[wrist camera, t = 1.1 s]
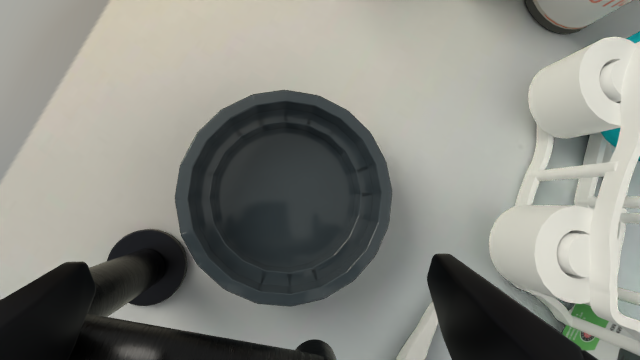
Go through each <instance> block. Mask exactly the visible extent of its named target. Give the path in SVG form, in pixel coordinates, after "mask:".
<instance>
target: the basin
mask: <svg viewBox="0 0 640 360" xmlns="http://www.w3.org/2000/svg"><path fill="white" fill-rule="evenodd" d="M175 199H176V200H175V204H176V209H177V215H178V221H179V227H180V233H181V236H182V238H183V240H184V241H185V243H186V245H187V247H188V249H189V251H190V252H191V254H192V256H193V258H194V260H195V262H196V263H197V265H198V266H199V267H200V268H201V269H202V270H203V271H204V272H205V273H207V274H208V275H209V276H210V277H211V278H212V279H213V280H214V281H215V282H216V283H218V284H219V285H220V286H221V287H222V288H223V289H225V290H227V291H229V292H231V293H233V294H236V295H238V296H240V297H243V298H245V299H247V300H250V301H252V302H254V303H257V304H267V305H278V306H296V305H300V304H304V303H308V302H313V301H317V300H321V299H324V298H326V297H328V296H330V295H331V294H333V293H335V292H336V291H338V290H340V289H341V288H343V287H344V286H346V285H348V284H349V283H351V282H353V280H355V279H356V278H357V277H358V275H359V274H360V273H361V272H362V271H363V270H364V269H365V267H366V266H367V265H368V264H369V263H370V262H371V261H372V259H373V258H374V257H375V255H376V254H377V251H378V249H379V247H380V244H381V242H382V240H383V238H384V235H385V233H386V231H387V228H388V225H389V219H390V210H391V200H392V188H391V183H390V178H389V173H388V168H387V163H386V161H385V158H384V157H383V155H382V153H381V151H380V149H379V147H378V145H377V144H376V142H375V140H374V138H373V136H372V134H371V133H370V131H369V130H368V129H366V128H365V127H364V126H363V125H362V124H361V123H360V122H359V121H358V120H357V119H356V118H355V117H354V116H353V115H352V114H351V113H350V112H349V111H348V110H346V109H344V108H342V107H340V106H338V105H336V104H334V103H333V102H331V101H329V100H327V99H325V98H323V97H321V96H318V95H313V94H307V93H301V92H295V91H289V90H280V91H273V92H266V93H259V94H253V95H250V96H248V97H246V98H244V99H242V100H240V101H238V102H236V103H234V104H232V105H230V106H228V107H226V108H224V109H222V110H220V111H219V112H218V113H217V114H216V115H215V116H214V117H213V118H212V119H211V120H210V121H209V122H208V123H207V124H206V125H205V126H204V127H203V128H202V129H201V130H200V131H198V132H197V134H196V136H195V138H194V140H193V141H192V143H191V145H190V147H189V149H188V151H187V153H186V155H185V157H184V159H183V160H182V162H181V165H180V169H179V175H178V181H177V187H176V193H175Z"/></svg>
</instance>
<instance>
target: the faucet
mask: <svg viewBox="0 0 640 360" xmlns="http://www.w3.org/2000/svg"><path fill="white" fill-rule="evenodd" d="M89 270H90V272H91V275H92V277H93V280H94V282H95V285H96V292H95V296H94V298H93V301H92V303H91V306H90V308H89V311H88V313H87V316H86V318H85V321H84V323H83V326H82V328H81V331H80V333H79V336H78V338H77V341H76V344H75V346H74V348H73V351H72V353H71V355H70V357H69V359H68V360H336V357H335V355H334V352H333V350H332V348H331V347H330V346H329V345H328V344H327V343H325V342H323V341H321V340H308V341H306V342H304V343H302V344H301V345H299V346H298V347H297V349H296V350H290V349H284V348H278V347H273V346H267V345H262V344H256V343H250V342H245V341H239V340H233V339H228V338H222V337H216V336H211V335H205V334H199V333H194V332H188V331H182V330H177V329H171V328H165V327H160V326H154V325H148V324H143V323H137V322H132V321H126V320H120V319H115V318H109V317H108V316H109V315H111V314H112V313H114V312H115V311H117V310H118V309H119V308H121V307H122V306H124V305H125V304H127V303H128V302H130V301H131V300H133V299H134V298H136V297H137V296H138V295H140V294H141V293H143V292H144V291H146V290H147V289H149V288H150V287H152V286H153V285H155V284H156V283H157V282H158V281H159V280H160V279H161V278H162V276H163V274H164V270H165V264H164V261H163V258H162V257H161V256H160V255H159V254H158V253H157V252H155V251H153V250H150V249H142V250H138V251H135V252H132V253H130V254H127V255H124V256H121V257H118V258H116V259H113V260H110V261H107V262H104V263H102V264H99V265H96V266H93V267H90V268H89ZM1 300H2V299H1Z"/></svg>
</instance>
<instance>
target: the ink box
mask: <svg viewBox="0 0 640 360" xmlns="http://www.w3.org/2000/svg"><path fill="white" fill-rule="evenodd" d="M571 315H572V316H575V317H577V318H580V319H582V320H585V321H588V322H590V323H593V324H595V325H598V326H600V327H603V328H606V329H608V330H611V331H613V332H616V333H619V334H621V335H624V336H626V337H629V338H632V339H634V340H636V339H635V338H634V337H633V336H631V335H630V334H629V333H628V332H626V331H625V330H624V329H623V328H621V327H620V326H619V325H617V324H616V323H613V322H610V321H607V320H605V319H602V318H600V317H598V316H597V315H596V314H595V313H594V312H593V310H592V308H591V306H589V305H586V304H575V306H574V309H573V311H572V313H571ZM562 334H563V335H564V336H566V337H567V338H569V339H570V340H571V341H573V342H574V343H576V344H577V345H578V346H580V347H581V350H586V351H587V352H588V353H590V354H591V355H593V356H594V357H595V358H597V359H598V360H640V356H639V355H636V354H634V353H632V352H629V351H627V350H625V349H622V348H620V347H618V346H615V345H613V344H611V343H608V342H606V341H604V340H601V339H599V338H596V337H594V336H592V335H589V334H587V333H584V332H582V331H580V330H577V329H575V328H573V327H570V326H568V325H566V326H565V328H564V330H563V333H562Z"/></svg>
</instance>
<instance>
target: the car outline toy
mask: <svg viewBox="0 0 640 360" xmlns="http://www.w3.org/2000/svg"><path fill="white" fill-rule="evenodd" d="M528 103H529V108H530V112H531V114H532V116H533V118H534V120H535V122H536V123H537V143H536V148H535V153H534V156H533V159H532V162H531V164H530V166H529V168H528V170H527V172H526V174H525V177H524V180H523V182H522V185H521V187H520V190H519V193H518V196H517V200H516V203H515V207H512V208H510V209H508V210H507V211H505V212H503V213H502V214H501V215H500V217H499V218H498V219H497V220H496V221H495V223H494V225H493V228H492V230H491V232H490V239H489V250H490V256H491V260H492V262H493V264H494V266H495V268H496V270H497V271H498V272H499V273H500V274H501V275H502V276H503V277H504V278H505V279H506V280H508V281H510V282H512V284H513V285H514V286H515V287H516V288H519V289H521V290H524V291H527V292H529V293H531V294H532V295H534V296H535V297H536V298H538V299H539V300H540V301H541V302H543V303H544V304H545V305H546V306H547V307H548V308H549V309H550V310H551V312H552V314H553V315H554V317H555V318H556V319H557V320H558V321H561V322H563V323H564V324H565V325H568V326H570V327H573V328H575V329H577V330H580V331H582V332H584V333H587V334H589V335H592V336H594V337H596V338H599V339H601V340H604V341H606V342H608V343H611V344H613V345H615V346H618V347H620V348H622V349H625V350H627V351H629V352H632V353H634V354H636V355H639V356H640V321H638V320H635V319H632V318H629V317H627V316H624V315H622V314H621V313H620V312H619V310H618V299H619V300H622V301H626V302H629V303H633V304H636V305H640V293H638V292H634V291H630V290H626V289H622V288H618V287H617V278H618V271H619V266H620V253H621V249H622V245H623V240H624V236H625V229H626V223H628V224H640V213H627V210H626V208H633V209H640V196H627V192H628V189H629V187H628V186H629V183H630V180H631V177H632V174H633V171H634V169H635V166H636V163H637V161H638V159H639V156H640V42H637V43H634V42H632V41H630V40H628V39H624V38H620V37H608V38H603V39H601V40H599V41H597V42H595V43H593V44H591V45H589V46H587V47H585V48H583V49H581V50H579V51H577V52H575V53H573V54H571V55H569V56H567V57H565V58H563V59H561V60H559V61H557V62H555V63H553V64H551V65H549V66H547V67H545V68H543V69H541V70H540V71H539V72H538V73H537V74H536V75H535V76H534V78H533V80H532V82H531V85H530V87H529V94H528ZM616 128H620V134H619V138H618V142H617V146H616V148H615V147H614V146H613V145H612V144H610V143H609V142H608V141H607V140H606V139H605V138H604V136H603V135H602V134H601V132H602V131H607V130H611V129H616ZM588 134H590V137H589V141H588V145H587V149H586V153H585V157H584V161H583V165H582V166H573V167H565V168H556V169H547V170H545V168H546V166H547V164H548V162H549V159H550V156H551V152H552V148H553V143H554V137H558V138H563V139H566V138H573V137H579V136H583V135H588ZM598 177H604V178H603V181H602V184H601V187H600V190H599V194H598V197H594V193H595V189H596V185H597V182H598ZM577 178H579V182H578V185H577V189H576V194H575V198H574V206H567V205H532V203H533V200H534V197H535V193H536V191H537V188H538V185H539V183H540V181H551V180H564V179H577ZM555 298H556V299H555ZM557 299H559V300H562V301H565V302H569V303H574V306H575V304H586V305H589V306H591V308H592V310H593V312H594V313H595V314H596V315H597V316H598V317H600V318H602V319H605V320H607V321H610V322H613V323H616V324H617V325H619V326H620V327H621V328H623V329H624V330H625V331H626V332H628V333H629V334H630V335H631V336H633V337H634V338H635V339H636V340H634V339H632V338H629V337H626V336H624V335H621V334H619V333H616V332H613V331H611V330H608V329H606V328H603V327H600V326H598V325H595V324H593V323H590V322H588V321H585V320H582V319H580V318H577V317H575V316H572V315H571V313H572V311H573V309H574V306H573V308H572V309H571V310H569V311H568V310H567V309H566V307H565V306H564V305H563V304H562V303H560V302H559V301H558V300H557Z"/></svg>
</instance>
